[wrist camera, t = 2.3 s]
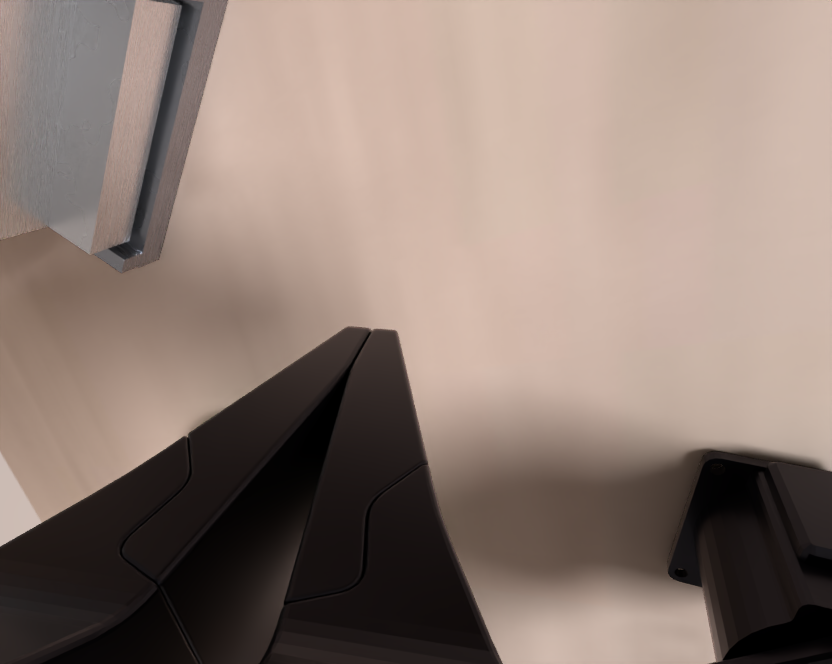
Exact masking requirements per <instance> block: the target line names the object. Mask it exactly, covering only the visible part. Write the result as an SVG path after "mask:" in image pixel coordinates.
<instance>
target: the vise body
mask: <svg viewBox="0 0 832 664" xmlns="http://www.w3.org/2000/svg"><path fill="white" fill-rule="evenodd" d="M174 1H176V2H177V3H179V4H180V5H182V10H181V14H180V18H179V23H178V27H177V32H176V36H175V41H174V45H173V50H172V54H171V58H170V63H169V67H168V72H167V76H166V81H165V85H164V90H163V94H162V98H161V103H160V107H159V112H158V116H157V121H156V125H155V129H154V134H153V138H152V143H151V147H150V152H149V156H148V161H147V165H146V169H145V174H144V178H143V183H142V187H141V192H140V196H139V201H138V205H137V209H136V214H135V218H134V223H133V227H132V232H131V236H130V241H128V242H125V243H123V244H120V245H117V246H114V247H111V248H108V249H106V250H103V251H100V252H97V253H94V255H95V256H97V257H98V258H100V259H101V260H103V261H104V262H106V263H107V264H109V265H110V266H112V267H113V268H115V269H116V270H118V271H119V272H121V273H123V272H125V271H128V270H130V269H133V268H135V267H142V266H144V265H146V264H149V263H151V262H154V261H156V260H158V259H159V256H160V253H161V249H162V245H163V241H164V238H165V234H166V230H167V226H168V223H169V219H170V215H171V211H172V208H173V204H174V200H175V196H176V193H177V189H178V185H179V181H180V178H181V174H182V170H183V166H184V163H185V159H186V155H187V151H188V148H189V144H190V140H191V136H192V133H193V129H194V125H195V121H196V118H197V114H198V110H199V106H200V103H201V99H202V95H203V91H204V88H205V84H206V80H207V76H208V73H209V69H210V65H211V61H212V58H213V54H214V50H215V46H216V43H217V39H218V35H219V31H220V28H221V24H222V20H223V16H224V13H225V9H226V5H227V1H228V0H174Z"/></svg>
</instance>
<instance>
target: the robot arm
mask: <svg viewBox="0 0 832 664" xmlns="http://www.w3.org/2000/svg"><path fill="white" fill-rule="evenodd" d="M713 464H721V465H722V466H721V467H719V468H713V467H711V465H713ZM667 568H668V574H669V576H670V577H671V578H673V579H674V580H677V581H680V582H683V583H687V584H691V585H695V586H699V587H702V588H703V594H704V599H705V604H706V610H707V615H708V620H709V626H710V631H711V636H712V642H713V647H714V652H715V658H716V662H714V663H709V664H832V472H829V471H824V470H818V469H813V468H808V467H803V466H798V465H793V464H787V463H782V462H769V461H764V460H759V459H754V458H748V457H743V456H738V455H733V454H728V453H723V452H710V453H707V454H705V455H704V456H703V457H702V459H701V461H700V464H699V467H698V470H697V473H696V476H695V479H694V482H693V485H692V488H691V491H690V494H689V497H688V500H687V503H686V506H685V510H684V513H683V516H682V519H681V522H680V525H679V528H678V531H677V534H676V537H675V540H674V543H673V546H672V549H671V552H670V555H669V558H668V561H667ZM678 568H683V570H679V569H678ZM0 664H503V663H502V661H501V659H500V657H499V655H498V653H497V650H496V648H495V646H494V644H493V641H492V639H491V637H490V635H489V632H488V630H487V627H486V625H485V623H484V620H483V618H482V615H481V613H480V610H479V608H478V606H477V603H476V601H475V598H474V596H473V594H472V591H471V589H470V586H469V584H468V581H467V579H466V577H465V574H464V572H463V569H462V567H461V565H460V562H459V560H458V557H457V555H456V552H455V550H454V547H453V545H452V542H451V539H450V537H449V534H448V531H447V528H446V526H445V523H444V520H443V517H442V514H441V511H440V507H439V504H438V500H437V496H436V493H435V489H434V485H433V481H432V477H431V472H430V468H429V466H428V461H427V456H426V452H425V448H424V443H423V439H422V435H421V431H420V426H419V422H418V418H417V413H416V409H415V405H414V400H413V396H412V392H411V387H410V383H409V379H408V375H407V370H406V366H405V362H404V357H403V353H402V349H401V344H400V340H399V336H398V333H397V331H395V330H386V329H374V330H371V329H370V328H362V327H346V328H344V329H343V330H341V331H340V332H338V333H337V334H335V335H334V336H332V337H331V338H330V339H328V340H327V341H325V342H324V343H322V344H321V345H319V346H318V347H316V348H315V349H313V350H312V351H310V352H309V353H307V354H306V355H304V356H303V357H301V358H300V359H298V360H297V361H295V362H294V363H292V364H291V365H289V366H288V367H286V368H285V369H283V370H282V371H281V372H279V373H278V374H276V375H275V376H273V377H272V378H270V379H269V380H267V381H266V382H264V383H263V384H261V385H260V386H258V387H257V388H255V389H254V390H252V391H251V392H249V393H248V394H246V395H245V396H243V397H242V398H240V399H239V400H237V401H236V402H234V403H233V404H231V405H230V406H229V407H227V408H226V409H224V410H223V411H221V412H220V413H218V414H217V415H215V416H214V417H212V418H211V419H209V420H208V421H206V422H205V423H203V424H202V425H200V426H199V427H197V428H196V429H194V430H193V431H191V432H190V433H189V434H188V437H186V436H184V437H182V438H181V439H179V440H178V441H176V442H175V443H173V444H172V445H170V446H169V447H167V448H166V449H164V450H163V451H161V452H160V453H158V454H157V455H155V456H154V457H152V458H150V459H149V460H147V461H146V462H144V463H143V464H141V465H140V466H138V467H136V468H135V469H133V470H132V471H130V472H129V473H127V474H125V475H124V476H122V477H120V478H119V479H117V480H115V481H114V482H112V483H110V484H108V485H107V486H105V487H103V488H102V489H100V490H98V491H97V492H95V493H93V494H92V495H90V496H88V497H87V498H85V499H83V500H81V501H79V502H78V503H76V504H74V505H72V506H71V507H69V508H67V509H65V510H64V511H62V512H60V513H58V514H57V515H55V516H53V517H51V518H50V519H48V520H46V521H44V522H43V523H41V524H39V525H37V526H36V527H34V528H32V529H30V530H29V531H27V532H25V533H23V534H22V535H20V536H18V537H16V538H15V539H13V540H11V541H9V542H8V543H6V544H4V545H2V546H1V547H0Z"/></svg>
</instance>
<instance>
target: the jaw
mask: <svg viewBox="0 0 832 664" xmlns="http://www.w3.org/2000/svg"><path fill="white" fill-rule="evenodd" d="M181 10H182V5H180V4H179V3H177V2H176V1H174V0H0V240H3V239H6V238H10V237H13V236H17V235H21V234H24V233H28V232H32V231H35V230H39V229H43V228H46V227H49V228H51V229H52V230H54V231H55V232H57V233H58V234H60V235H61V236H63V237H64V238H66V239H67V240H69V241H70V242H71V243H73V244H74V245H76V246H77V247H79V248H80V249H82V250H83V251H85V252H86V253H88V254H89V255H91V254H94V253H97V252H100V251H103V250H106V249H108V248H111V247H114V246H117V245H120V244H123V243H125V242H128V241H130V236H131V232H132V227H133V223H134V218H135V214H136V209H137V205H138V201H139V196H140V192H141V187H142V183H143V178H144V174H145V169H146V165H147V161H148V156H149V152H150V147H151V143H152V138H153V134H154V129H155V125H156V121H157V116H158V112H159V107H160V103H161V98H162V94H163V90H164V85H165V81H166V76H167V72H168V67H169V63H170V58H171V54H172V50H173V45H174V41H175V36H176V32H177V27H178V23H179V18H180V14H181Z"/></svg>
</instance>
